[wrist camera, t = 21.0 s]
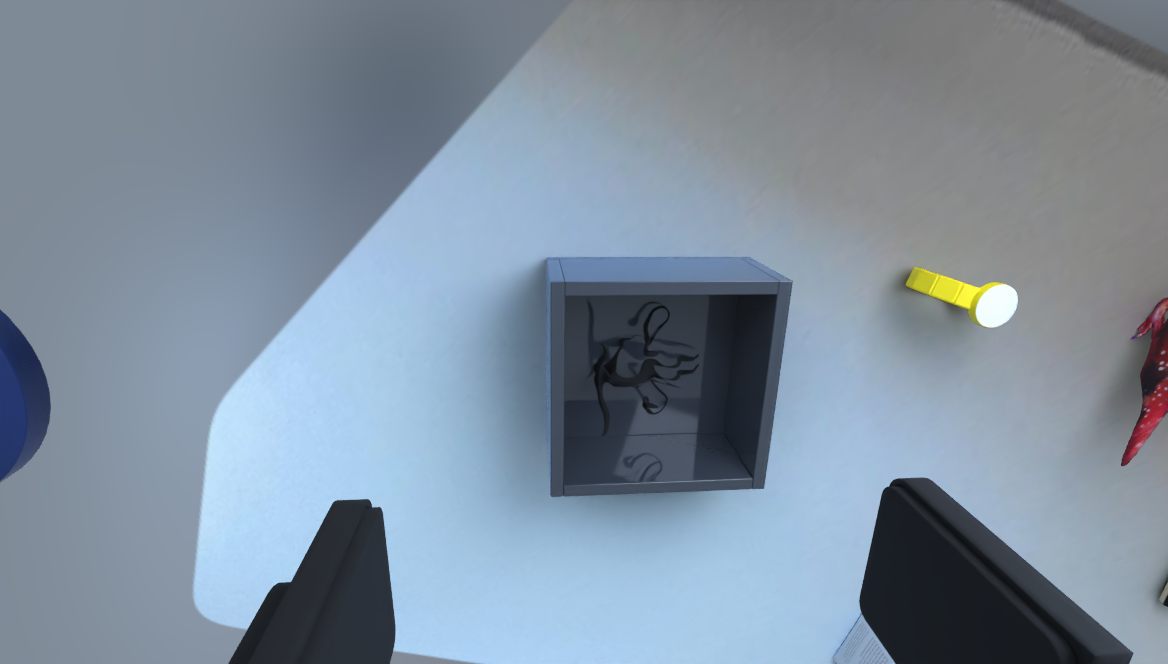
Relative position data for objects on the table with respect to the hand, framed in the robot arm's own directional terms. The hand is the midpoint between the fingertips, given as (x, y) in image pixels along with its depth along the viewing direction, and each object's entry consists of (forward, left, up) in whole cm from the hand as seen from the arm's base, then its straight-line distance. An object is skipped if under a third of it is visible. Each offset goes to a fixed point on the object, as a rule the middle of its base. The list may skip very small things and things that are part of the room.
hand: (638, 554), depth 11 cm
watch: (+26, -2, -28) cm, 39 cm away
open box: (+6, -7, -28) cm, 30 cm away
